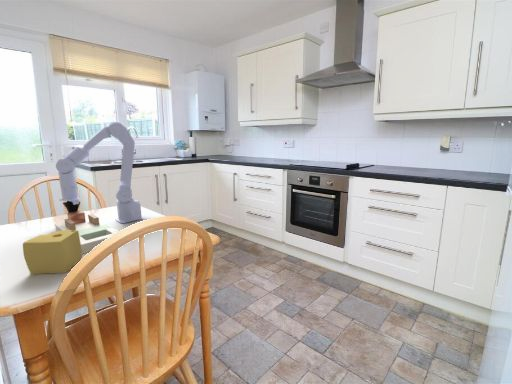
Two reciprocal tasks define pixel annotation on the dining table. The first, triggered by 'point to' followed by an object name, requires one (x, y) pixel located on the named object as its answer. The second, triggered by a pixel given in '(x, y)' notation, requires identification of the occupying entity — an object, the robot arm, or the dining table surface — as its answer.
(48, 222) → the dining table surface
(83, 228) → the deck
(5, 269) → the dining table surface
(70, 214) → the block
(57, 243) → the cheese
